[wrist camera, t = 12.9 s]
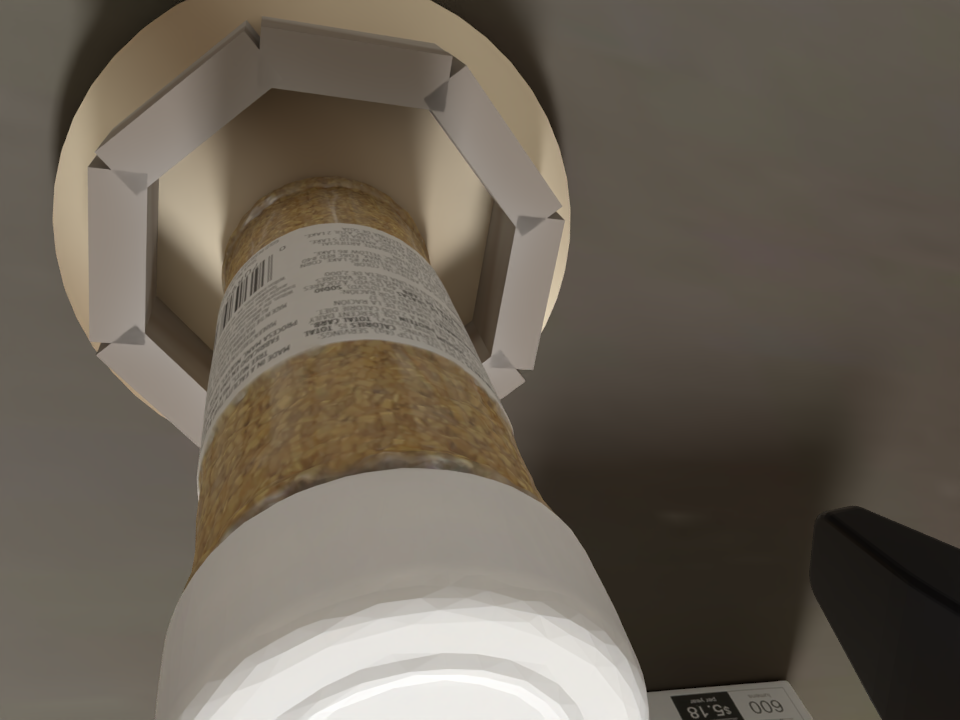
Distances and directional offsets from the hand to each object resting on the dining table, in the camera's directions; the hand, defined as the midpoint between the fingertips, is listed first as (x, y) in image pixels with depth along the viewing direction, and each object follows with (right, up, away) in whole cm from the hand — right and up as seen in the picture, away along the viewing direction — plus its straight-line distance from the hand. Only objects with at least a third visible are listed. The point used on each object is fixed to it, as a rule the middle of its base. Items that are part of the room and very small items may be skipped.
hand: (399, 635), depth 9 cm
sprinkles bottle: (-3, +5, +11) cm, 12 cm away
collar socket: (-3, +6, +11) cm, 13 cm away
